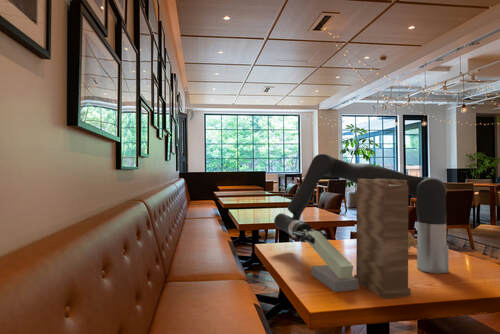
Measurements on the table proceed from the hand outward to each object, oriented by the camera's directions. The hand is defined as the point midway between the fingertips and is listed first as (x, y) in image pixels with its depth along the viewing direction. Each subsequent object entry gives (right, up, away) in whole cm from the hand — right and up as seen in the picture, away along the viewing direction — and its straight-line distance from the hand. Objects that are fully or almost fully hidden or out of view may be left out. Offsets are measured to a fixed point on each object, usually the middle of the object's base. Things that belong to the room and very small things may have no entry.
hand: (319, 240), depth 115 cm
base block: (+3, -11, -9) cm, 15 cm away
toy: (+44, -12, +26) cm, 53 cm away
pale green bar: (+1, -5, -5) cm, 7 cm away
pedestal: (+16, -11, -15) cm, 24 cm away
